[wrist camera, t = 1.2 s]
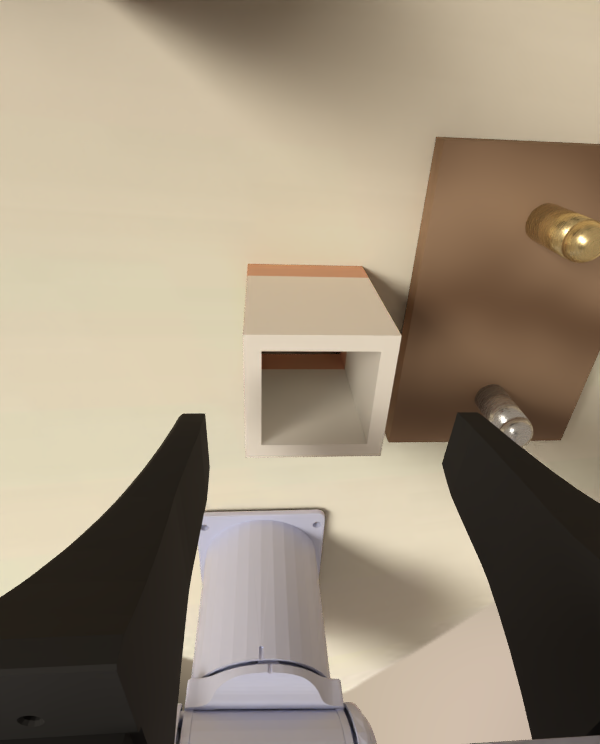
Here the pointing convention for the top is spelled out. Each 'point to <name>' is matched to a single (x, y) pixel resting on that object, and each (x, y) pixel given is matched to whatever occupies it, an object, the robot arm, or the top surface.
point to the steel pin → (504, 413)
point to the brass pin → (564, 232)
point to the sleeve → (316, 362)
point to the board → (497, 289)
